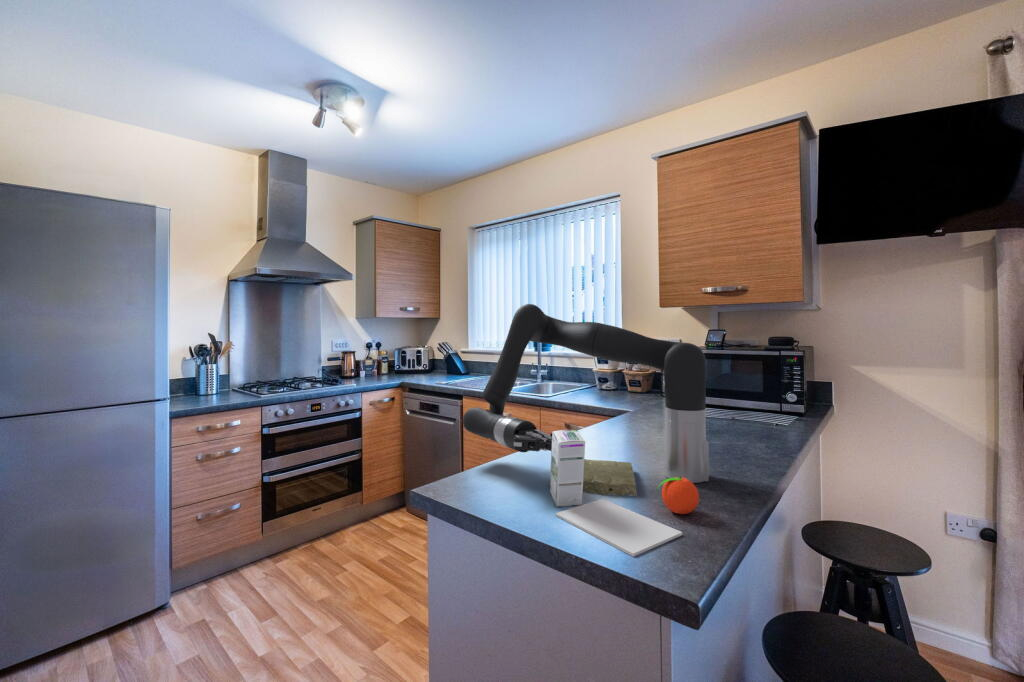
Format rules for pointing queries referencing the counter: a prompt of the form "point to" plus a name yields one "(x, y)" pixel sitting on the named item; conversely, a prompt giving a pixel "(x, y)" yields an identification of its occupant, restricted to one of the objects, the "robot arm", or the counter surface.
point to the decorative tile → (609, 477)
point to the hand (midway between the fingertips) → (561, 448)
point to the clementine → (680, 495)
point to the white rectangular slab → (619, 526)
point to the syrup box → (567, 467)
